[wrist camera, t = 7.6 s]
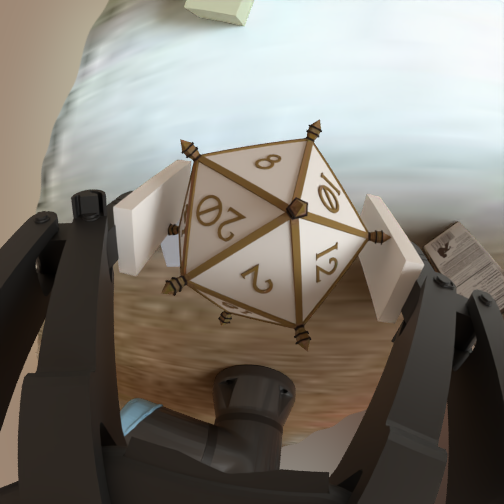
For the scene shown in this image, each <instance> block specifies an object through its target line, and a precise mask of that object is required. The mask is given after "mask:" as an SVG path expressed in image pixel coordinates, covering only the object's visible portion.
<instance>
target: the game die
mask: <svg viewBox="0 0 504 504" xmlns="http://www.w3.org/2000/svg"><path fill="white" fill-rule="evenodd" d="M306 132H307V137H306V138H303V139H295V140H287V141H279V142H272V143H265V144H258V145H252V146H246V147H240V148H234V149H228V150H223V151H217V152H212V153H207V154H202V155H201V154H199V152H198V148H197V147H195V146H194V145H193V144H194V143H193V142H192V143H191V142H187V141H184V140H181V139H180V140H181V146H182V152H181V153H182V154H183V153H184V154H185V155H186V158H188V157H189V158H191V159H192V160H193V161H194V163H193V167H192V171H191V175H190V179H189V184H188V188H187V192H186V196H185V200H184V205H183V209H182V214H181V218H180V223H179V226H177V225H176V224H174V225H172V224H171V223H170V225H169V227H168V235H169V236H170V235H177V234H178V237H179V256H180V273H181V276H180V277H178V278H175V277H172V279H171V280H166V284H165V286H164V288H163V290H162V294H173V295H174V296H175V295H176V293H177V292H178V291H179V292H181V290H182V288H183V286H185V285H187V286H189V287H190V288H192V289H193V290H194V291H196V292H197V293H199V294H200V295H202V296H203V297H205V298H206V299H208V300H209V301H211V302H212V303H214V304H215V305H217V306H218V307H220V308H221V309H223V310H224V312H222V313H221V316H220V317H219V318H218V319H219V320H220V323H221V326H222V325H225V324H227V323H230V319H232V318H231V314H234V315H238V316H242V317H246V318H250V319H254V320H259V321H263V322H267V323H271V324H276V325H280V326H284V327H289V328H293V329H295V336H294V338H296V340H297V342H296V344H299V345H300V346H301V347H303V348H304V349H305V350H306V351H308V347H309V343H310V340H311V338H310V337H309V336H308V334H309V333H308V331H306V330H305V329H304V325H305V324H306V323H307V321H308V320H309V319H310V318H311V316H312V315H313V314H314V313H315V311H316V310H317V309H318V308H319V306H320V305H321V304H322V303H323V301H324V300H325V299H326V297H327V296H328V295H329V294H330V292H331V291H332V290H333V288H334V287H335V286H336V284H337V283H338V282H339V280H340V279H341V278H342V277H343V275H344V274H345V272H346V271H347V270H348V268H349V267H350V266H351V264H352V263H353V262H354V260H355V259H356V257H357V256H358V255H359V253H360V252H361V251H362V249H363V248H364V246H365V245H366V243H367V242H368V241H372V242H374V243H375V244H376V243H381V245H382V243H384V242H385V241H387V240H389V239H390V238H391V237H390V236H389V235H387V234H386V233H384V232H383V230H381V231H377V230H375V231H374V232H368V230H367V228H366V226H365V225H364V223H363V221H362V219H361V218H360V216H359V214H358V212H357V211H356V209H355V207H354V205H353V204H352V202H351V200H350V199H349V197H348V195H347V194H346V192H345V190H344V189H343V187H342V185H341V184H340V182H339V180H338V179H337V177H336V176H335V174H334V172H333V171H332V169H331V168H330V166H329V165H328V163H327V162H326V160H325V158H324V157H323V155H322V154H321V152H320V151H319V149H318V148H317V146H316V145H315V143H314V141H315V139H316V138H317V137H319V134H320V132H322V130H321V125H320V120H318V121H316V122H315V123H313V124H311V125H309V129H308V130H307V131H306Z"/></svg>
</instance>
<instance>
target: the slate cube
mask: <svg viewBox="0 0 504 504" xmlns="http://www.w3.org/2000/svg"><path fill="white" fill-rule="evenodd" d="M179 223H180V219H179V221H178V222H177V223H176V225H177V226H179ZM161 248H162V251H163V255H164V258H165V261H166V265H167V267H174V266H180V256H179V237H178V234H177V235H170V236H169V235H167V236H166V237H165V239H164V240H163V241H162V243H161Z"/></svg>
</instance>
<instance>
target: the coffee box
mask: <svg viewBox="0 0 504 504" xmlns="http://www.w3.org/2000/svg"><path fill="white" fill-rule="evenodd" d="M424 250H425V252H426V254H427V255H428V257H429V259H430V261H431V263H432V265H433V267H434V269H435V270H436V272H438V273H441V274H443V275H445V276H446V277H448V278H449V279H450V280H451V281H453V283H454V284H455V286H456V289H457V294H459V295H461V296H464V297H466V298H468V299H469V297H470V295H471V294H472V292H473V291H474V290H476V289H478V290H482V291H484V292H487V293H488V294H490V295H491V296H492V298H493V299H494V300H495V302H496V303H497V305H498V307H499V310H500V312H501V314H502V317H503V319H504V271H503V270H502V269H501V267H500V266H499V265H498V264H497V263H496V261H495V260H494V259H493V258H492V257H491V256H490V254H489V253H488V252H487V251H486V250H485V249H484V248H483V246H482V245H481V244H480V243H479V242H478V241H477V240H476V239H475V237H474V236H473V235H472V234H471V233H470V232H469V231H468V230H467V229H466V228H465V227H464V226H463V225H462V224H461V223H460V222H457V223H456V224H454V225H453V226H452V227H450V228H449V229H447V230H446V231H445V232H443V233H442V234H440V235H439V236H438V237H436V238H435V239H433V240H432V241H430V242H429V243H428V244H426V245H425V246H424ZM475 345H476V342H475V344H474V346H475Z"/></svg>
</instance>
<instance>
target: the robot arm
mask: <svg viewBox="0 0 504 504" xmlns="http://www.w3.org/2000/svg"><path fill="white" fill-rule="evenodd" d="M190 169H191V161H184V160H176V161H175V162H173V163H172V164H171V165H169V166H168V167H166V168H165V169H163V170H162V171H161V172H159V173H158V174H156V175H155V176H154V177H152V178H151V179H149V180H148V181H147V182H145V183H144V184H143V185H141V186H140V187H139V188H137V189H136V190H135V191H129V192H127V193H124V194H122V195H120V196H119V197H118V198H116V200H114V201H112V202H111V203H110V204H108V205H107V206H106V194H105V192H103V191H102V190H85V191H81V192H78V193H76V194H74V195H73V196H72V197H71V200H72V209H73V217H74V219H73V222H72V223H59V224H58V218H57V214H56V213H54V212H50V211H47V212H46V211H42V212H38V213H37V214H35V215H33V216H32V217H30V218H29V219H28V220H27V221H26V222H25V223H24V224H23V225H22V226H21V227H20V228H19V229H18V230H17V231H16V232H15V233H14V235H12V237H11V238H10V239H9V240H8V241H7V242H6V243H5V244H4V245H3V246H2V247H1V249H0V431H1V428H2V425H3V422H4V419H5V416H6V412H7V409H8V406H9V403H10V401H11V398H12V395H13V392H14V389H15V387H16V383H17V381H18V379H19V376H20V373H21V371H22V369H23V366H24V364H25V361H26V359H27V356H28V354H29V352H30V350H31V347H32V345H33V343H34V341H35V339H36V336H37V334H38V332H39V330H40V328H41V326H42V324H43V322H44V320H45V324H44V329H43V334H42V340H41V346H40V352H39V359H38V367H37V371H36V373H28V374H27V375H26V376H25V377H24V380H23V384H22V391H21V400H20V412H19V429H18V478H19V481H17V482H14V483H12V484H9V485H7V486H4V487H2V488H0V504H434V503H435V499H436V497H437V494H438V491H439V487H440V484H441V481H442V477H443V474H444V470H445V466H446V462H447V452H446V450H445V449H442V448H440V447H438V441H439V436H440V432H441V428H442V423H443V419H444V414H445V408H446V403H447V404H448V426H449V463H448V484H447V496H446V504H504V319H503V317H502V314H501V312H500V310H499V307H498V305H497V303H496V302H495V300H494V299H493V298H492V296H491V295H490V294H488V293H487V292H484V291H482V290H478V289H476V290H474V291H473V292H472V294H471V295H470V297H469V299H468V298H466V297H464V296H461V295H459V294H457V289H456V286H455V284H454V283H453V281H451V280H450V279H449V278H448V277H446V276H445V275H443V274H441V273H438V272H435V271H434V270H433V268H432V266H431V265H430V263H429V262H428V261H427V258H426V257H425V256H424V254H423V252H422V251H421V249H420V248H419V247H418V246H417V245H416V244H415V243H413V242H411V241H410V240H409V239H408V237H407V236H406V234H405V233H404V231H403V230H402V228H401V227H400V225H399V224H398V222H397V221H396V219H395V218H394V216H393V215H392V213H391V212H390V210H389V209H388V208H387V206H386V205H385V203H384V202H383V201H382V199H381V198H380V197H378V196H374V195H370V194H367V195H366V199H365V202H364V205H363V209H362V212H361V215H360V218H361V219H362V221H363V223H364V225H365V226H366V228H367V230H368V232H374V231H375V230H377V231H381V230H383V232H384V233H386V234H387V235H389V236H390V237H391V238H390V239H389V240H387V241H385V242H384V243H382V245H381V243H376V244H375V243H374V242H372V241H368V242H367V243H366V245H365V246H364V248H363V249H362V251H361V252H360V253H359V255H358V256H359V259H360V262H361V265H362V268H363V271H364V275H365V278H366V281H367V284H368V288H369V291H370V295H371V298H372V302H373V305H374V309H375V312H376V316H377V320H378V321H381V322H389V323H395V322H396V320H397V318H398V317H399V315H400V313H401V311H402V314H403V317H404V320H403V322H402V324H401V325H400V327H399V329H398V331H397V332H396V334H395V336H394V337H393V339H392V341H391V342H393V343H394V344H393V347H392V350H391V353H390V355H389V358H388V361H387V363H386V366H385V369H384V371H383V374H382V376H381V379H380V381H379V383H378V386H377V388H376V390H375V393H374V395H373V397H372V400H371V402H370V404H369V406H368V408H367V411H366V413H365V415H364V417H363V419H362V421H361V423H360V425H359V428H358V429H357V432H356V433H355V436H354V437H353V439H352V441H351V443H350V445H349V447H348V449H347V451H346V452H345V454H344V456H343V458H342V460H341V461H340V463H339V465H338V467H337V468H336V470H335V471H334V472H333V474H332V475H331V476H330V477H329V472H310V471H294V470H283V469H281V470H279V467H280V456H281V446H282V433H283V426H284V424H285V422H286V420H287V418H288V416H289V413H290V411H291V409H292V407H293V405H294V402H295V386H294V384H293V382H292V381H291V380H290V379H289V378H288V377H287V376H286V375H284V374H282V373H281V372H278V371H276V370H274V369H271V368H267V367H262V366H255V365H240V366H234V367H230V368H227V369H225V370H223V371H221V372H220V373H219V374H218V375H217V376H216V378H215V382H214V386H213V400H214V408H215V415H216V419H215V423H214V425H213V424H210V423H207V422H204V421H201V420H198V419H195V418H193V417H190V416H187V415H184V414H182V413H179V412H176V411H174V410H171V409H168V408H166V407H163V405H162V404H156V403H153V402H150V401H147V400H145V399H142V398H135V399H132V400H130V401H129V402H128V403H127V404H126V405H125V406H124V407H123V408H122V410H121V411H120V409H119V400H118V390H117V379H116V365H115V348H114V309H113V300H114V272H113V265H114V264H115V262H116V261H117V260H118V264H119V272H121V273H125V274H129V275H134V276H137V275H138V274H139V272H140V271H141V269H142V268H143V267H144V265H145V264H146V263H147V261H148V260H149V259H150V257H151V256H152V255H153V253H154V252H155V251H156V249H157V248H158V247H159V245H160V244H161V243H162V241H163V240H164V239H165V237H166V236H167V235H168V227H169V225H170V223H171V224H172V225H174V224H176V223H177V222H178V221H179V219H180V218H181V214H182V209H183V205H184V200H185V196H186V192H187V188H188V184H189V179H190ZM36 264H37V269H36V266H35V265H36ZM45 318H46V319H45ZM394 341H395V342H394ZM475 342H476V345H475V348H474V349H473V351H472V346H473V345H474V344H475Z"/></svg>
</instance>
